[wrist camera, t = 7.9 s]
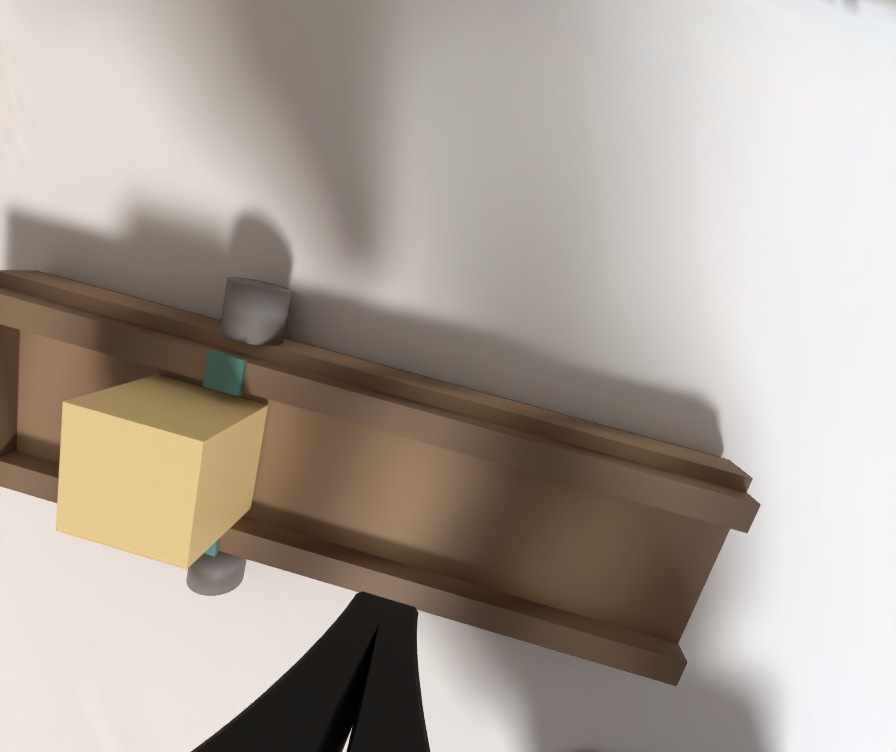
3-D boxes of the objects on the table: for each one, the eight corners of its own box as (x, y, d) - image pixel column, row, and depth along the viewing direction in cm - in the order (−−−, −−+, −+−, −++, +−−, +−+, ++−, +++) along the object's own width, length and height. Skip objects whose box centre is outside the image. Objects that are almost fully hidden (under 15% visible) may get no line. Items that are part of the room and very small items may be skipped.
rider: (267, 405, 15) (203, 441, 12) (250, 508, 16) (186, 569, 13) (157, 374, 16) (62, 401, 12) (146, 477, 16) (55, 530, 13)
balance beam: (749, 411, 15) (797, 437, 13) (632, 680, 18) (654, 743, 16) (39, 221, 16) (-40, 212, 14) (29, 501, 19) (-39, 534, 17)
